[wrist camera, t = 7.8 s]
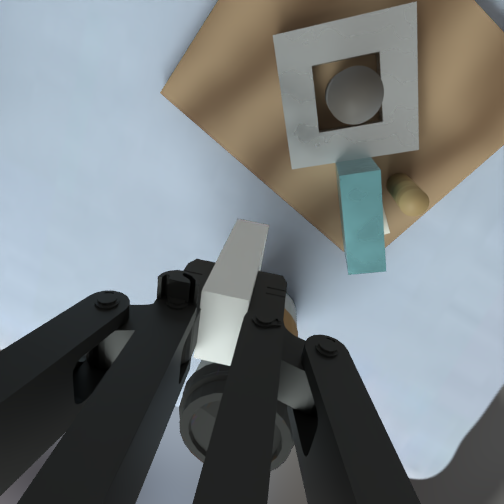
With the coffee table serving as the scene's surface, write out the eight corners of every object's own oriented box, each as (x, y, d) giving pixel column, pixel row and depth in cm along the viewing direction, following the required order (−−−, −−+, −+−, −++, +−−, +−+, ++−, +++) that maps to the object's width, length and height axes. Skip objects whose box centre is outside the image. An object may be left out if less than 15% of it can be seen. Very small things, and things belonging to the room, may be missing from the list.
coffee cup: (260, 254, 35) (224, 362, 21) (324, 309, 36) (329, 443, 22) (207, 307, 38) (147, 429, 24) (268, 356, 39) (243, 497, 26)
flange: (304, 246, 32) (302, 278, 27) (274, 38, 26) (264, 25, 21) (415, 234, 30) (437, 266, 25) (411, 6, 24) (438, -18, 19)
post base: (165, 92, 30) (114, 94, 22) (321, -153, 23) (324, -274, 15) (360, 261, 33) (374, 314, 26) (551, 94, 26) (649, 97, 18)
